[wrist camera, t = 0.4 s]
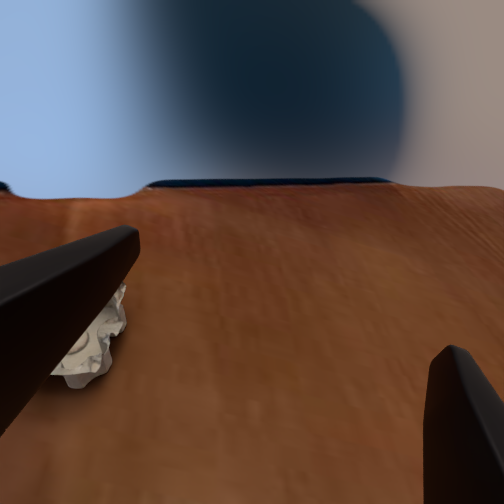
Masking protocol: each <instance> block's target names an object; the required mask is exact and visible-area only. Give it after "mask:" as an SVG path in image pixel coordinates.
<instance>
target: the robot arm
mask: <svg viewBox="0 0 504 504" xmlns="http://www.w3.org/2000/svg"><path fill="white" fill-rule="evenodd" d="M139 254H140V239H139V231H138V230H137V229H136V228H133V227H130V226H128V225H122V226H119V227H116V228H113V229H110V230H107V231H104V232H101V233H98V234H95V235H92V236H89V237H86V238H83V239H80V240H77V241H74V242H71V243H68V244H65V245H62V246H59V247H56V248H53V249H50V250H47V251H44V252H41V253H38V254H35V255H32V256H29V257H26V258H24V259H21V260H18V261H15V262H12V263H9V264H6V265H3V266H0V437H1V436H2V434H3V433H4V432H5V429H7V428H8V427H9V425H10V424H11V423H12V422H13V420H14V419H15V418H16V417H17V415H18V414H19V413H20V412H21V410H22V409H23V408H24V407H25V405H26V404H27V403H28V402H29V400H30V399H31V398H32V397H33V396H34V394H35V393H36V392H37V391H38V389H39V388H40V387H41V386H42V384H43V383H44V382H45V381H46V379H47V378H48V377H49V376H50V374H51V373H52V372H53V371H54V369H55V368H56V367H57V366H58V364H59V363H60V362H61V361H62V359H63V358H64V357H65V356H66V354H67V353H68V352H69V351H70V350H71V348H72V347H73V346H74V345H75V343H76V342H77V341H78V340H79V338H80V337H81V336H82V335H83V333H84V332H85V331H86V330H87V328H88V327H89V326H90V325H91V323H92V322H93V321H94V320H95V318H96V317H97V316H98V315H99V313H100V312H101V311H102V310H103V308H104V307H105V306H106V305H107V303H108V302H109V301H110V300H111V298H112V297H113V296H114V294H115V293H116V291H117V290H118V288H119V286H120V285H121V283H122V282H123V280H124V279H125V277H126V275H127V274H128V272H129V271H130V269H131V267H132V266H133V264H134V263H135V261H136V260H137V258H138V256H139ZM423 487H424V504H504V403H503V401H502V400H501V399H500V397H499V396H498V394H497V393H496V391H495V390H494V388H493V387H492V385H491V384H490V382H489V381H488V379H487V378H486V377H485V375H484V374H483V372H482V371H481V369H480V368H479V366H478V365H477V363H476V362H475V360H474V359H473V357H472V356H471V355H470V353H469V352H468V351H467V350H465V349H463V348H460V347H457V346H454V345H448V346H447V347H445V348H444V349H443V350H442V351H441V352H440V353H439V354H438V355H437V356H436V357H435V358H434V359H433V360H432V362H431V364H430V367H429V375H428V384H427V392H426V401H425V409H424V420H423Z"/></svg>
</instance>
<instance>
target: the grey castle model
mask: <svg viewBox="0 0 504 504" xmlns="http://www.w3.org/2000/svg"><path fill="white" fill-rule="evenodd" d="M125 288H126V285H125V283H123V282H122V283H121V285H120V286H119V288H118V290H117V291H116V293H115V294H114V296H113V297H112V298H111V300H110V301H109V302H108V303H107V305H106V306H105V307H104V308H103V310H102V311H101V312H100V313H99V315H98V316H97V317H96V318H95V320H94V321H93V322H92V323H91V325H90V326H89V327H88V328H87V330H86V331H85V332H84V333H83V335H82V336H81V337H80V338H79V340H78V341H77V342H76V343H75V345H74V346H73V347H72V348H71V350H70V351H69V352H68V353H67V354H66V356H65V357H64V358H63V359H62V361H61V362H60V363H59V364H58V366H57V367H56V368H55V369H54V371H53V372H52V373H51V374H50V375H63V377H64V378H65V380H66V383H67V384H68V386H69V387H71V388H75V389H79V388H84V387H85V386H86V384H87V383H88V382H90V381H91V380H92V379H93V378H94V377H96V376H99V375H101V374H105V373H106V372H108V370H109V367H110V366H111V364H112V357H111V355H110V351H109V345H110V337H112V336H117V335H118V333H122V332H123V331H124V328H125V326H126V323H127V321H126V317H125V312H124V309H123V305H121V304H120V302H121V300H122V298H123V297H124V292H125Z"/></svg>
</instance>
